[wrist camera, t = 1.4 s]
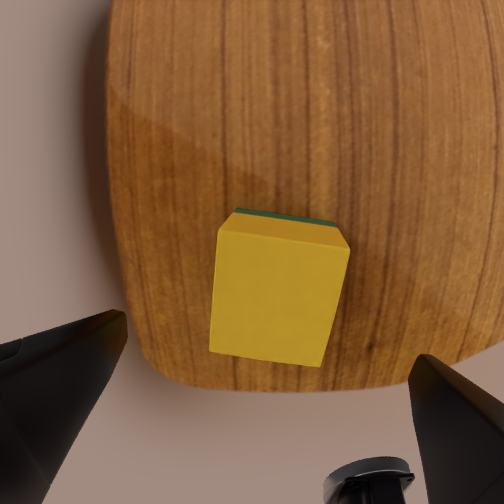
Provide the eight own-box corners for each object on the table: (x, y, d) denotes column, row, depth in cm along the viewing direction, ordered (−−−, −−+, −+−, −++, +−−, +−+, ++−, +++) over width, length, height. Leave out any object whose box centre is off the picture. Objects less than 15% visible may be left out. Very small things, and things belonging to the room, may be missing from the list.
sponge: (314, 318, 16) (320, 368, 12) (225, 305, 16) (208, 351, 12) (334, 221, 14) (351, 249, 11) (235, 207, 15) (217, 229, 11)
